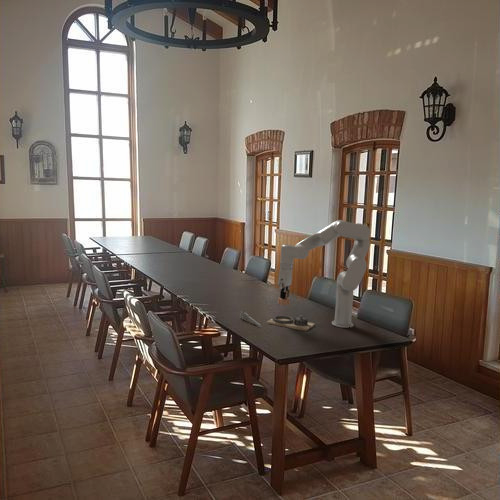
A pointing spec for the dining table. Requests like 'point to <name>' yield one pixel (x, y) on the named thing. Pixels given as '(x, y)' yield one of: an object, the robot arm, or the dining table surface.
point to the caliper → (248, 318)
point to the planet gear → (284, 300)
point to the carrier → (291, 322)
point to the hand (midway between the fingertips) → (284, 297)
